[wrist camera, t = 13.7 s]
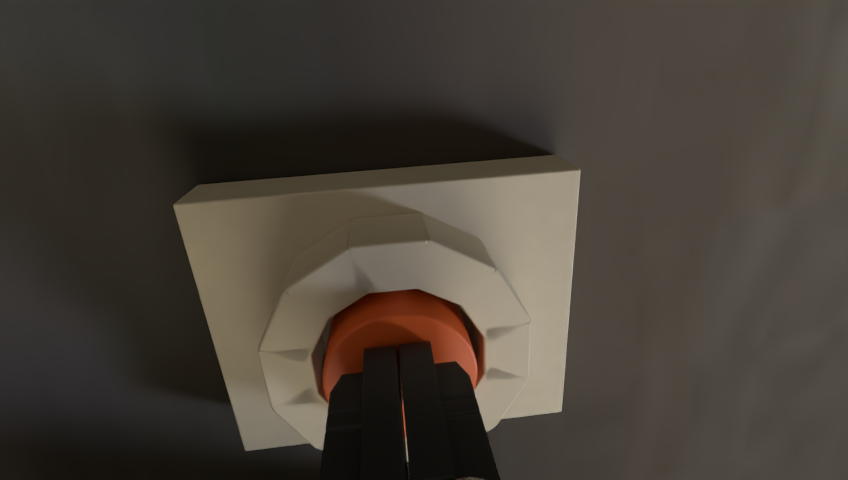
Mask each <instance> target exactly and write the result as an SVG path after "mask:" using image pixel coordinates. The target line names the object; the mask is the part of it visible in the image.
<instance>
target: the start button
mask: <svg viewBox="0 0 848 480" xmlns="http://www.w3.org/2000/svg"><path fill="white" fill-rule="evenodd" d="M425 341H430V343H431V348H432V353H433V358H434V363H444V362H452V361H456V362H457V363H458V364H459V365H460V366H461V367H462V368H463V369H464V370H465V371H466V372H467V373H468V374H469V375H470V378H471V382H472V385H473V389H475V386H476V381H477V373H478V369H477V361H476V357H475V354H474V351H473V348H472V345H471V342H470V339H469V336H468V332H467V329H466V326H465V323H464V320H463V317H462V315H461V313H460V310H459V309H458V307H457V306H456V304H455V303H453V302H451V301H448V300H445V299H443V298H440V297H438V296H435V295H433V294H430V293H427V292H425V291H422V290H420V289H408V290H398V291H388V292H379V293H369V294H366V295H365V296H363V297H362V298H360V299H359V300H357V301H355V302H354V303H352V304H351V305H349V306H348V307H346V308H345V309H343V310H341V311H340V312H338V313H337V314H335V315H334V318H333V320H332V323H331V326H330V331H329V337H328V343H327V350H326V356H325V363H324V369H323V389H324V392H325V396H326V398H327V401H328V403H329V397H330V392H331V390H332V389H333V387H334V386H335V384H336V383H337V381H338V380H339V378H340V377H341V375H343V374H351V373H360V372H363V355H364V349H365V348H374V347H383V346H391V345H396V350H397V360H398V369H399V379H400V388H401V398H402V408H403V419H404V430H405V438H406V427H405V415H404V403H403V391H402V379H401V367H400V355H399V344H408V343H417V342H425Z"/></svg>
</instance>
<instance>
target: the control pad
mask: <svg viewBox="0 0 848 480" xmlns="http://www.w3.org/2000/svg"><path fill="white" fill-rule="evenodd" d="M579 184H580V169H579V168H577V167H576V166H574V165H572V164H571V163H569V162H567V161H566V160H564V159H562V158H561V157H559V156H557V155H547V156H536V157H524V158H512V159H500V160H488V161H476V162H464V163H452V164H440V165H428V166H416V167H405V168H393V169H381V170H369V171H357V172H345V173H333V174H321V175H309V176H297V177H285V178H274V179H262V180H250V181H238V182H226V183H214V184H202V185H197V186H196V187H195V188H193V189H192V190H191V191H190V192H188V193H187V194H186V195H184V196H183V197H182V198H181V199H179V200H178V201H177V202H176V203H174V204H173V207H174V211H175V214H176V217H177V221H178V224H179V228H180V231H181V234H182V238H183V241H184V245H185V248H186V251H187V255H188V258H189V262H190V265H191V269H192V272H193V275H194V279H195V282H196V286H197V289H198V292H199V296H200V299H201V303H202V306H203V309H204V313H205V316H206V320H207V323H208V326H209V330H210V333H211V337H212V340H213V343H214V347H215V350H216V354H217V357H218V360H219V364H220V367H221V371H222V374H223V377H224V381H225V384H226V388H227V391H228V394H229V398H230V401H231V405H232V408H233V411H234V415H235V418H236V422H237V425H238V429H239V432H240V435H241V439H242V442H243V446H244V449H245V451H251V450H259V449H267V448H275V447H283V446H291V445H299V444H307V443H310V444H311V445H312V446H314V447H315V448H316V449H317V448H318V449H319V450H323V445H324V437H325V433H326V421H327V416H328V405H329V403H328V401H327V398H326V396H325V392H324V389H323V369H324V363H325V356H326V350H327V343H328V337H329V331H330V326H331V323H332V320H333V318H334V315H335V314H337V313H338V312H340V311H341V310H343V309H345V308H346V307H348V306H349V305H351V304H352V303H354V302H355V301H357V300H359V299H360V298H362V297H363V296H365V295H366V294H369V293H379V292H388V291H398V290H408V289H420V290H422V291H425V292H427V293H430V294H433V295H435V296H438V297H440V298H443V299H445V300H448V301H451V302H453V303H455V304H456V306H457V307H458V309H459V310H460V313H461V315H462V317H463V320H464V323H465V326H466V329H467V332H468V336H469V339H470V342H471V345H472V348H473V351H474V354H475V357H476V361H477V369H478V373H477V381H476V386H475V389H474V392H475V397H476V399H477V402H478V406H479V409H480V413H481V416H482V420H483V423H484V427H485V430H486V432H487V431H489V430H491V429H493V428H494V427H495V426H497V424H498V423H499V421H500V420H501V419H506V418H514V417H522V416H530V415H538V414H546V413H554V412H561V411H562V399H563V387H564V374H565V361H566V349H567V336H568V323H569V311H570V298H571V285H572V273H573V260H574V247H575V235H576V222H577V209H578V197H579ZM405 443H406V455H407V462H408V450H407V438H405Z"/></svg>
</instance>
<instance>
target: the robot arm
mask: <svg viewBox="0 0 848 480" xmlns="http://www.w3.org/2000/svg"><path fill="white" fill-rule="evenodd" d="M399 355H400V367H401V379H402V391H403V403H404V415H405V427H406V438H407V450H408V462H409V474H410V480H500V477H499V474H498V471H497V468H496V464H495V461H494V457H493V454H492V451H491V447H490V444H489V440H488V437H487V433H486V430H485V427H484V423H483V420H482V416H481V413H480V409H479V406H478V402H477V399H476V397H475V392H474V389H473V385H472V382H471V378H470V375H469V374H468V373H467V372H466V371H465V370H464V369H463V368H462V367H461V366H460V365H459V364H458V363H457V362H456V361H452V362H444V363H434V358H433V353H432V348H431V343H430V341H425V342H417V343H408V344H399ZM319 480H408V468H407V455H406V443H405V430H404V419H403V408H402V398H401V388H400V379H399V369H398V360H397V350H396V345H391V346H383V347H374V348H365V349H364V355H363V372H360V373H351V374H343V375H341V377H340V378H339V380H338V381H337V383H336V384H335V386H334V387H333V389H332V390H331V392H330V397H329V405H328V416H327V421H326V433H325V437H324V445H323V453H322V461H321V469H320V478H319Z"/></svg>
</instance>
